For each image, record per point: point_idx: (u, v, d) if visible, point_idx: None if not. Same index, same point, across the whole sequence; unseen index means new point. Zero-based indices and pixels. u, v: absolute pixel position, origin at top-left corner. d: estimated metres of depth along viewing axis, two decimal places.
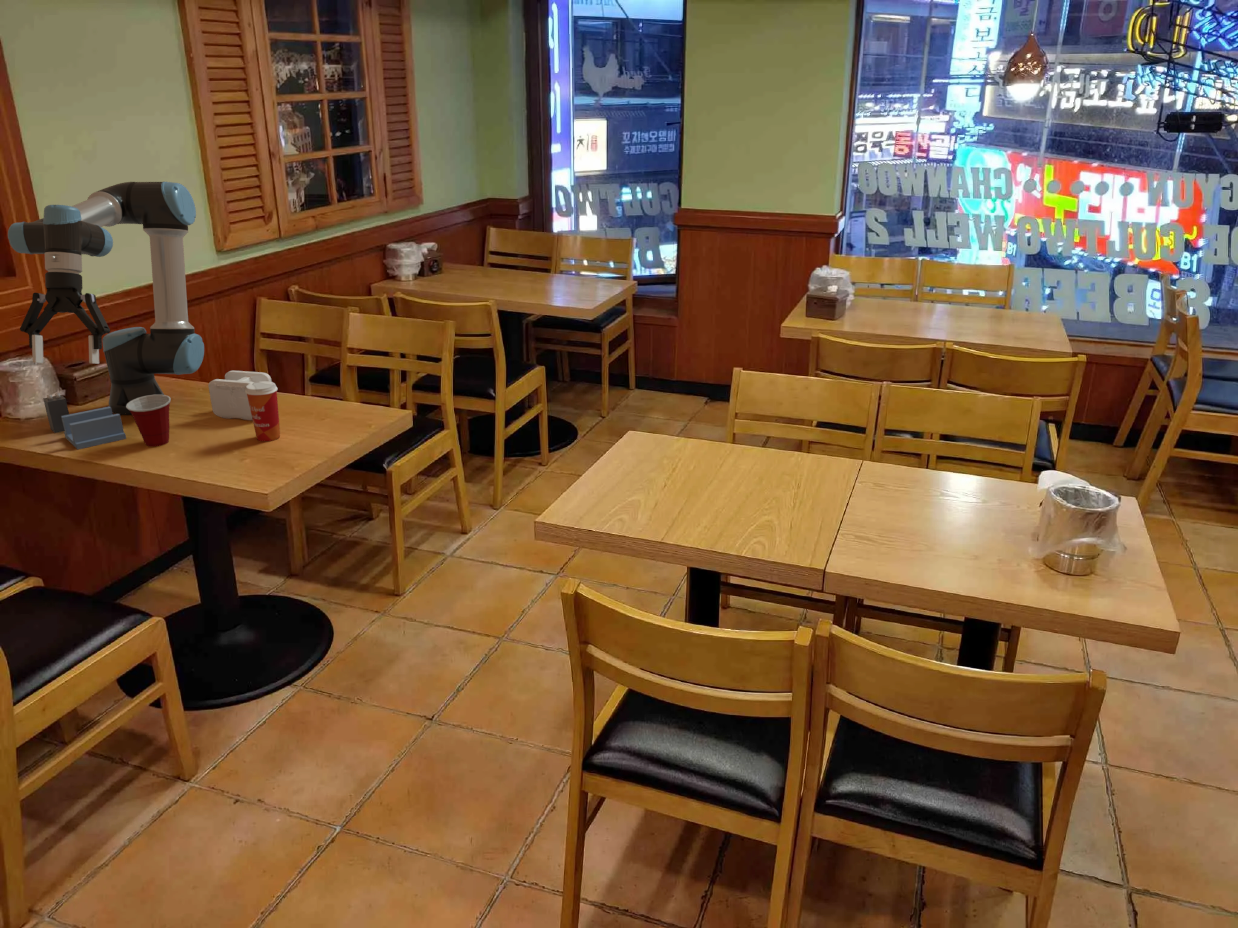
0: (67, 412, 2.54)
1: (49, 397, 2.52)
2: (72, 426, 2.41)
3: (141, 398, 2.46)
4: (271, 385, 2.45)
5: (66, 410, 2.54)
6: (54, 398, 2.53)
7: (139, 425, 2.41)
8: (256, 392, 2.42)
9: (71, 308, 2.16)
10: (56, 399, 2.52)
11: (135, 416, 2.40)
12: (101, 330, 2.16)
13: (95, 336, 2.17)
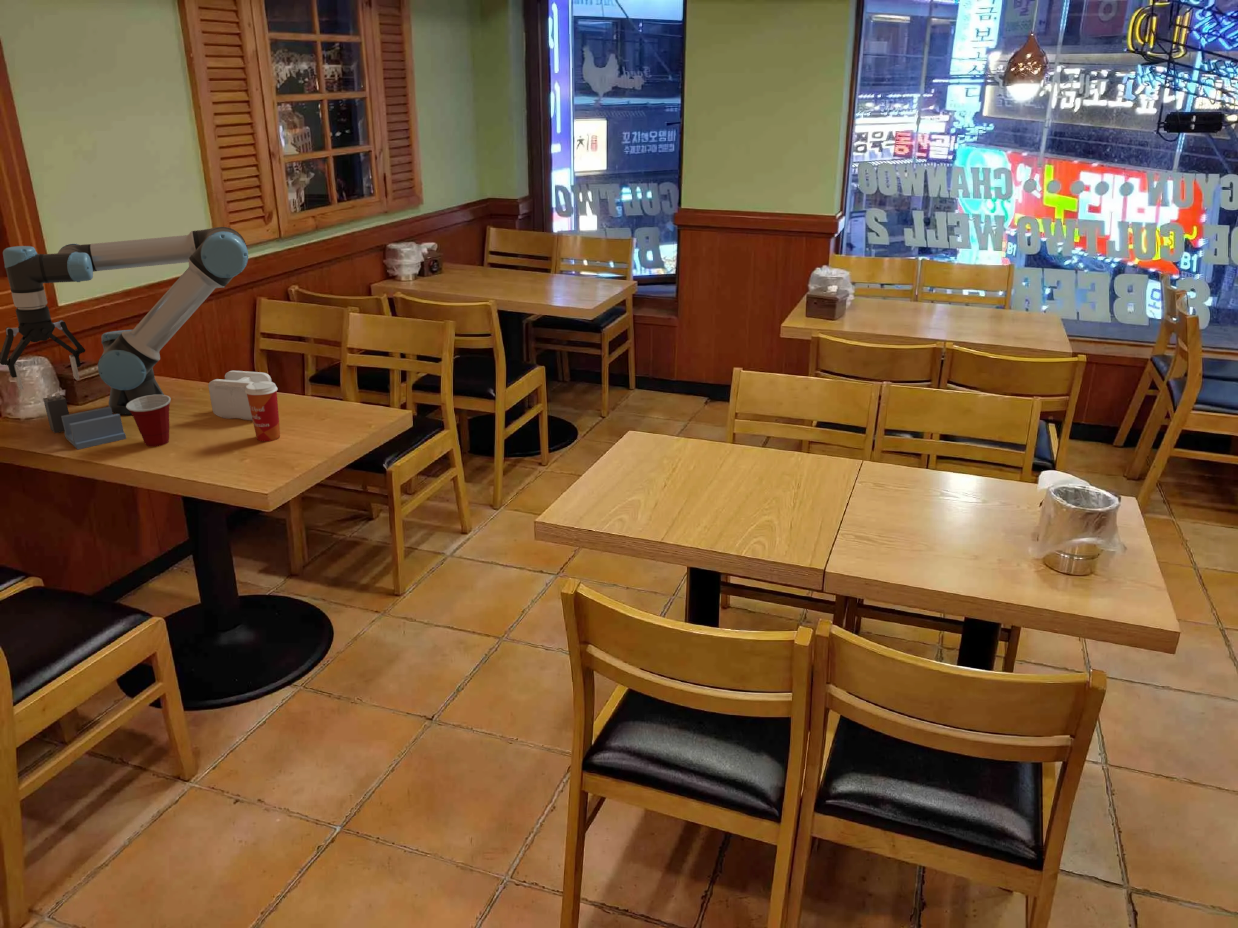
0: (67, 412, 2.54)
1: (49, 397, 2.52)
2: (72, 426, 2.41)
3: (141, 398, 2.46)
4: (271, 385, 2.45)
5: (66, 410, 2.54)
6: (54, 398, 2.53)
7: (139, 425, 2.41)
8: (256, 392, 2.42)
9: None
10: (56, 399, 2.52)
11: (135, 416, 2.40)
12: None
13: None
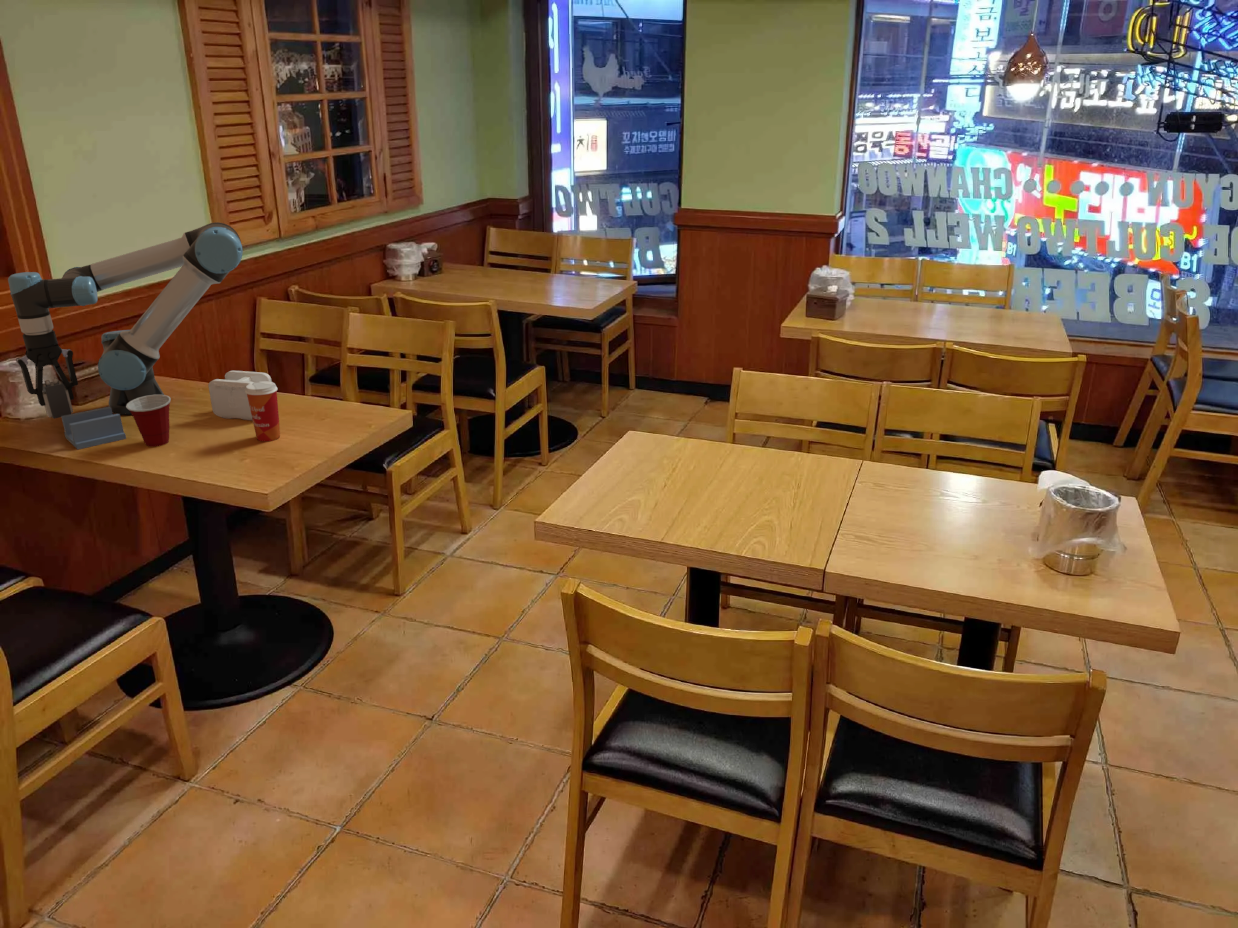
0: (65, 397, 2.53)
1: (47, 382, 2.50)
2: (72, 426, 2.41)
3: (141, 398, 2.46)
4: (271, 385, 2.45)
5: (64, 395, 2.52)
6: (52, 383, 2.52)
7: (139, 425, 2.41)
8: (256, 392, 2.42)
9: None
10: (54, 384, 2.51)
11: (135, 416, 2.40)
12: None
13: None
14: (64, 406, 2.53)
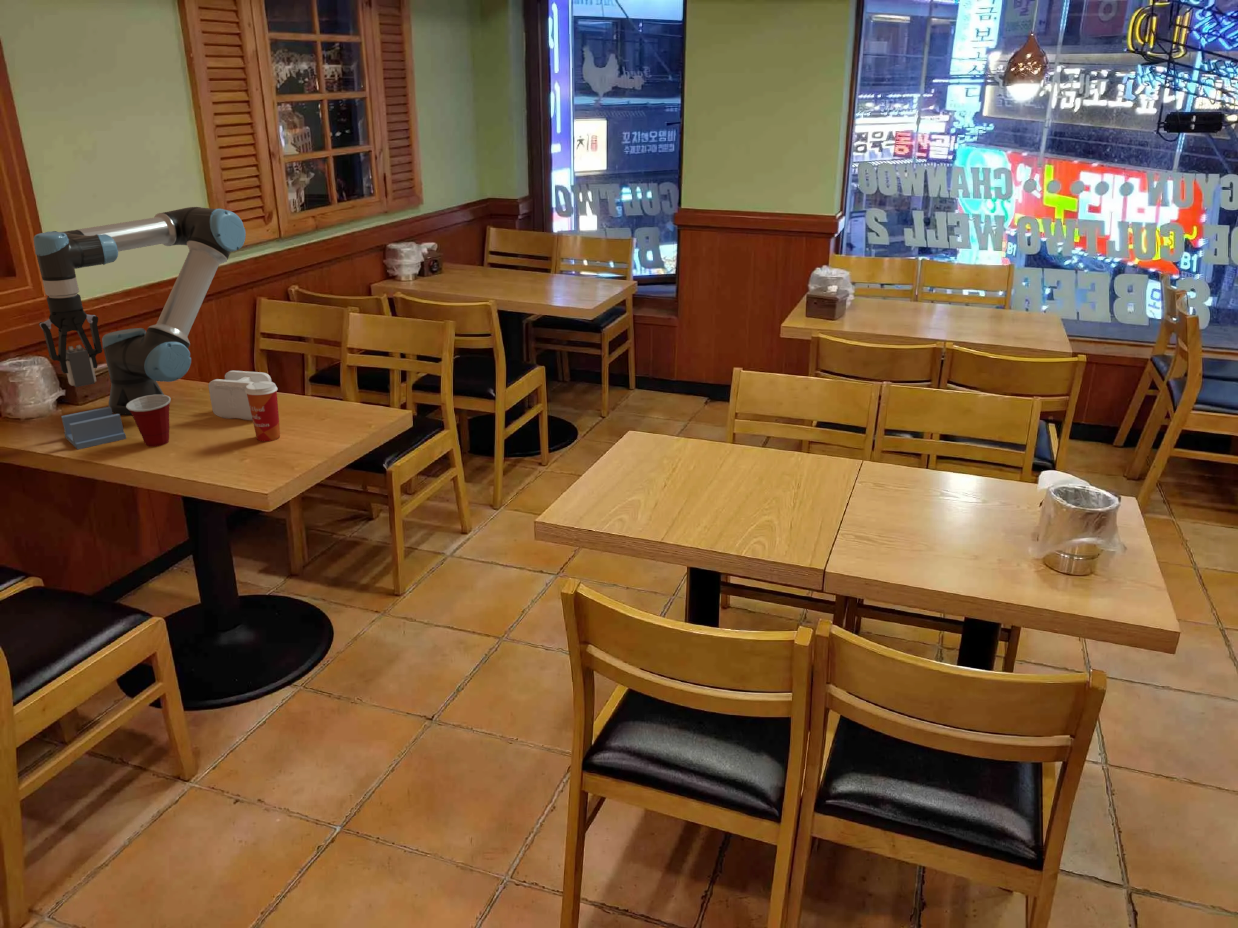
0: (89, 365, 2.42)
1: (70, 349, 2.39)
2: (72, 426, 2.41)
3: (141, 398, 2.46)
4: (271, 385, 2.45)
5: (88, 363, 2.42)
6: (75, 350, 2.41)
7: (139, 425, 2.41)
8: (256, 392, 2.42)
9: None
10: (78, 351, 2.40)
11: (135, 416, 2.40)
12: None
13: None
14: (88, 374, 2.42)
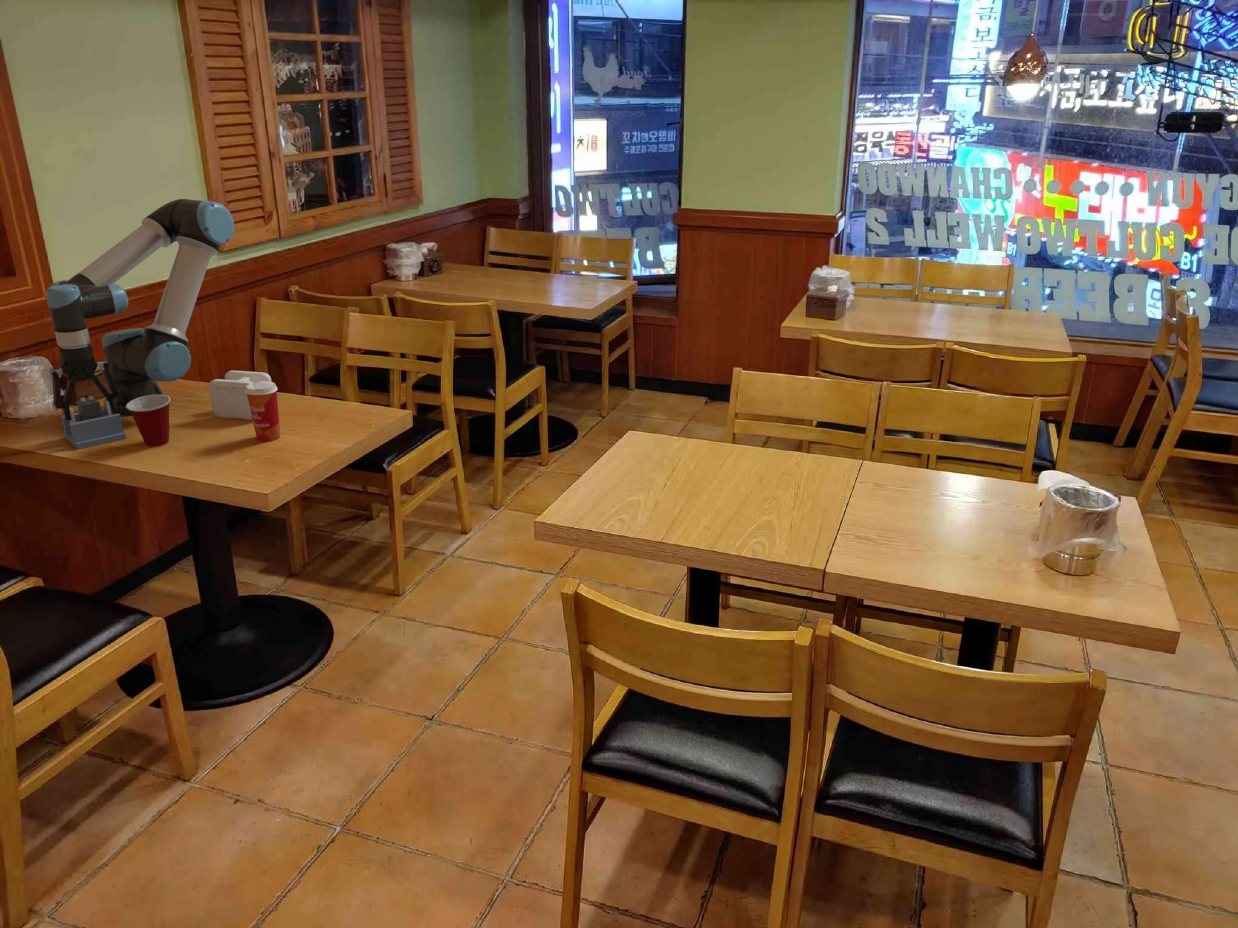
0: (101, 415, 2.47)
1: (82, 400, 2.45)
2: (72, 426, 2.41)
3: (141, 398, 2.46)
4: (271, 385, 2.45)
5: (100, 413, 2.47)
6: (87, 401, 2.46)
7: (139, 425, 2.41)
8: (256, 392, 2.42)
9: None
10: (90, 402, 2.45)
11: (135, 416, 2.40)
12: None
13: None
14: None
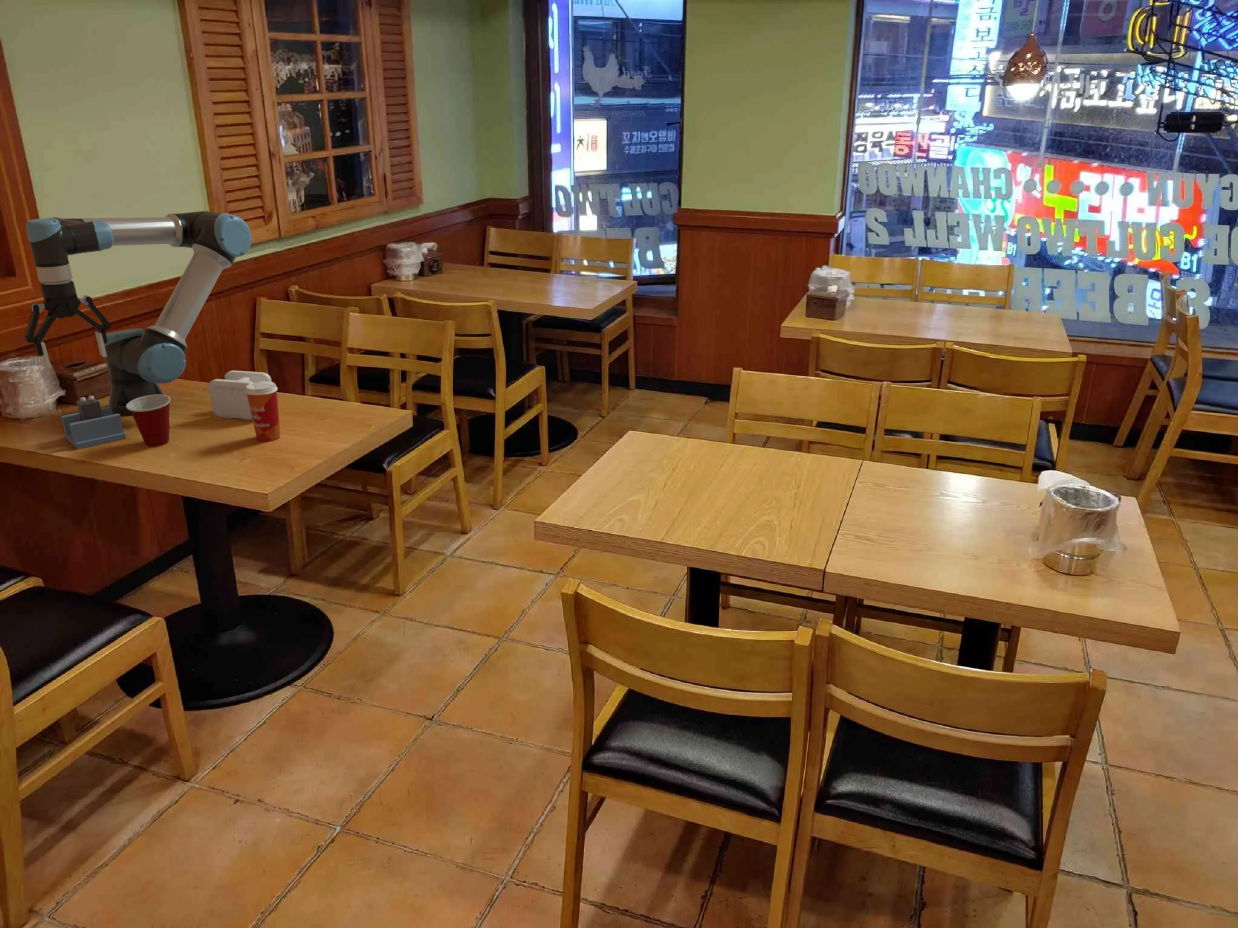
0: (101, 415, 2.47)
1: (82, 400, 2.45)
2: (72, 426, 2.41)
3: (141, 398, 2.46)
4: (271, 385, 2.45)
5: (100, 413, 2.47)
6: (87, 401, 2.46)
7: (139, 425, 2.41)
8: (256, 392, 2.42)
9: None
10: (90, 402, 2.45)
11: (135, 416, 2.40)
12: None
13: None
14: None
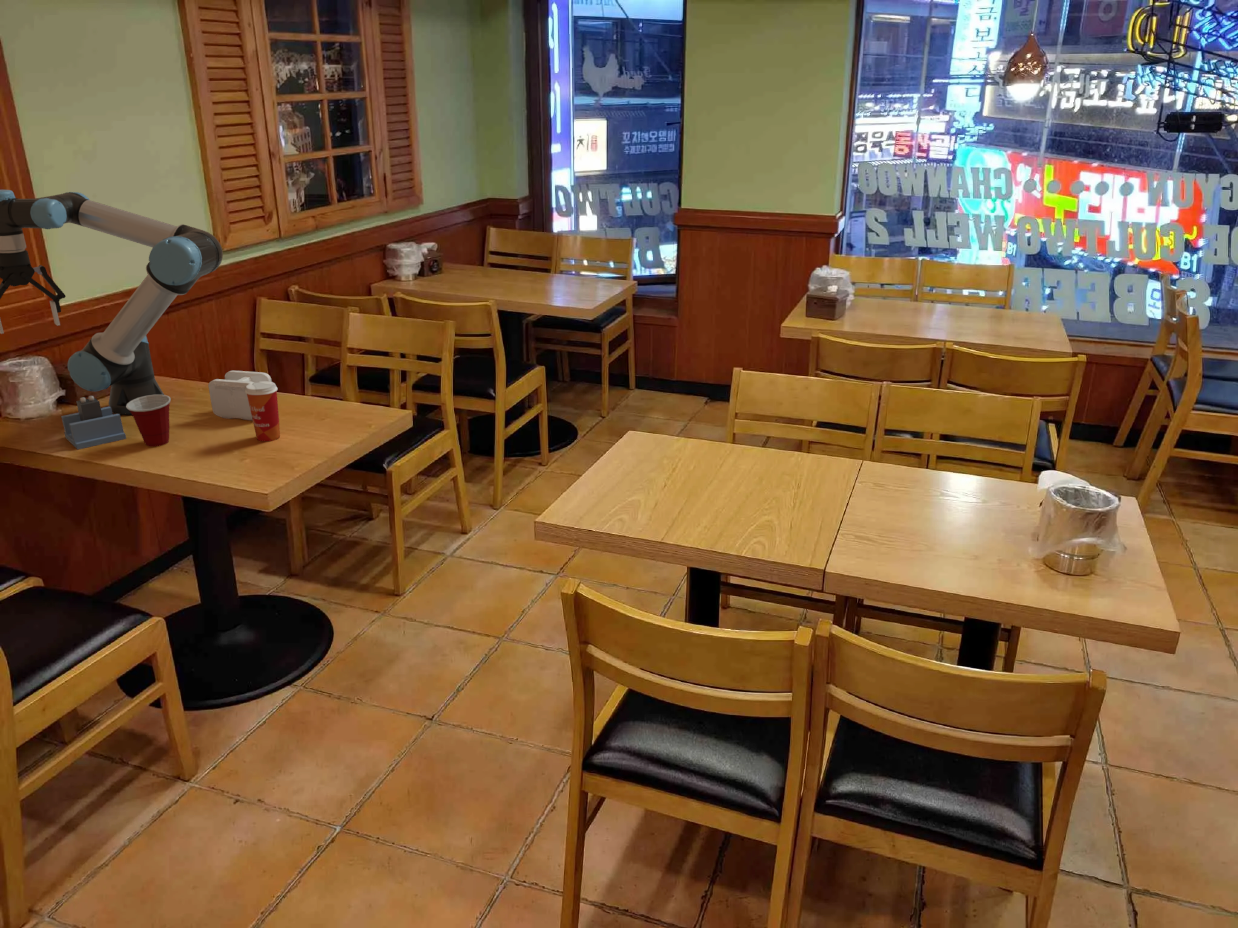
0: (101, 415, 2.47)
1: (82, 400, 2.45)
2: (72, 426, 2.41)
3: (141, 398, 2.46)
4: (271, 385, 2.45)
5: (100, 413, 2.47)
6: (87, 401, 2.46)
7: (139, 425, 2.41)
8: (256, 392, 2.42)
9: None
10: (90, 402, 2.45)
11: (135, 416, 2.40)
12: None
13: None
14: None
